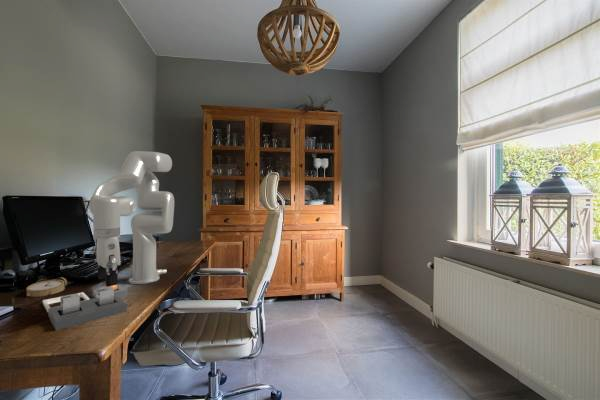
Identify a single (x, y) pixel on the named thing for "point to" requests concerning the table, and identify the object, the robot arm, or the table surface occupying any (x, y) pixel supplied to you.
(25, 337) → the table surface
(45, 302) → the tray
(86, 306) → the grey slotted frame
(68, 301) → the block
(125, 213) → the robot arm
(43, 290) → the alarm clock
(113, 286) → the button cap
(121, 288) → the button housing
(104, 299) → the billet
